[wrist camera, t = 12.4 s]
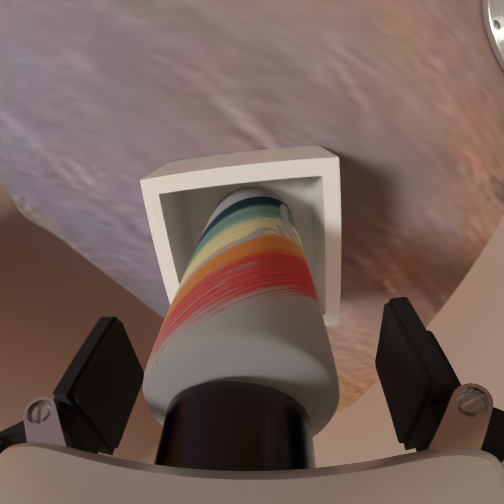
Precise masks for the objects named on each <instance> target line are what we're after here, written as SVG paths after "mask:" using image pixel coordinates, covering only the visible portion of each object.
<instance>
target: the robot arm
mask: <svg viewBox="0 0 504 504" xmlns="http://www.w3.org/2000/svg"><path fill="white" fill-rule="evenodd" d="M483 17H484V22H485V28H486V31H487V34H488V38H489V41H490V44H491V46H492V49H493V51H494V54H495V56H496V58H497V60H498V62H499V64H500V66H501V68H502V69H503V71H504V0H483ZM375 363H376V370H377V373H378V376H379V379H380V382H381V385H382V388H383V391H384V394H385V397H386V401H387V404H388V407H389V411H390V414H391V417H392V421H393V424H394V427H395V431H396V435H397V438H398V441H399V443H404V446H405V450H409V449H413V448H416V451H417V452H415V453H409V454H404V455H398V456H393V457H388V458H383V459H378V460H372V461H366V462H359V463H352V464H345V465H338V466H331V467H322V468H310V469H298V470H280V471H220V470H202V469H189V468H179V467H170V466H162V465H154V464H147V463H141V462H135V461H129V460H124V459H118V458H113V457H108V456H104V455H99V454H98V452H101V453H105V454H110V455H113V452H114V449H115V448H117V447H118V446H119V443H120V441H121V438H122V436H123V433H124V430H125V427H126V424H127V422H128V419H129V417H130V414H131V411H132V409H133V406H134V403H135V401H136V398H137V395H138V392H139V390H140V388H141V385H142V383H143V379H144V372H143V369H142V367H141V365H140V363H139V361H138V358H137V356H136V354H135V352H134V350H133V348H132V345H131V343H130V340H129V338H128V335H127V333H126V331H125V328H124V326H123V324H122V322H121V321H119V320H118V319H117V318H116V317H101V318H100V319H99V321H98V322H97V324H96V325H95V327H94V328H93V330H92V331H91V333H90V334H89V336H88V337H87V339H86V340H85V342H84V343H83V345H82V346H81V348H80V350H79V351H78V353H77V354H76V356H75V357H74V359H73V361H72V362H71V364H70V366H69V367H68V369H67V370H66V372H65V374H64V375H63V377H62V378H61V380H60V382H59V384H58V385H57V387H56V389H55V390H54V392H53V394H54V396H55V398H54V400H52V399H51V398H49V397H39V398H36V399H34V400H33V401H31V402H30V403H29V404H28V405H27V407H26V408H25V411H24V415H23V419H24V421H22V422H20V423H18V424H16V425H14V426H11V427H9V428H7V429H5V430H3V431H1V432H0V504H504V411H502V410H499V409H497V408H494V407H493V399H492V396H491V394H490V393H489V392H488V391H487V390H486V389H485V388H484V387H482V386H480V385H478V384H473V383H470V384H464V385H461V384H460V382H459V380H458V378H457V376H456V374H455V372H454V370H453V368H452V367H451V365H450V363H449V361H448V359H447V357H446V356H445V354H444V352H443V350H442V348H441V347H440V345H439V343H438V341H437V340H436V338H435V336H434V335H433V333H432V332H431V331H427V330H426V328H425V327H424V325H423V323H422V322H421V320H420V318H419V316H418V315H417V313H416V311H415V310H414V308H413V306H412V305H411V303H410V302H409V300H408V298H407V297H400V298H392V299H390V301H389V303H387V304H385V305H384V311H383V318H382V325H381V331H380V337H379V343H378V349H377V355H376V361H375Z"/></svg>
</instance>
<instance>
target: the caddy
mask: <svg viewBox="0 0 504 504" xmlns="http://www.w3.org/2000/svg"><path fill="white" fill-rule="evenodd" d="M140 183H141V188H142V193H143V198H144V202H145V207H146V212H147V216H148V220H149V225H150V229H151V233H152V238H153V242H154V246H155V250H156V254H157V258H158V262H159V265H160V269H161V273H162V277H163V280H164V284H165V288H166V291H167V295H168V298H169V302H170V305H171V303H172V301H173V299H174V296H175V294H176V292H177V289H178V287H179V285H180V282H181V280H182V278H183V276H184V273H185V271H186V269H187V267H188V264H189V262H190V260H191V258H192V256H193V253H194V251H195V249H196V247H197V245H198V242H199V240H200V238H201V236H202V234H203V232H204V229H205V227H206V225H207V223H208V221H209V219H210V217H211V215H212V213H213V211H214V209H215V208H216V206H217V205H218V203H219V202H220V201H221V200H222V199H223V198H224V197H225V196H226V195H228V194H229V193H231V192H233V191H235V190H237V189H240V188H245V187H260V188H264V189H267V190H270V191H272V192H274V193H275V194H277V195H278V196H279V197H281V198H282V199H283V200H284V201H285V203H286V204H287V205H288V207H289V209H290V211H291V213H292V215H293V217H294V220H295V223H296V226H297V230H298V233H299V236H300V239H301V243H302V246H303V249H304V253H305V256H306V259H307V263H308V266H309V270H310V273H311V276H312V280H313V283H314V287H315V290H316V294H317V297H318V301H319V305H320V308H321V312H322V316H323V319H324V323H325V326H331V325H339V319H340V295H341V192H340V168H339V157H338V156H336V155H334V154H333V153H331V152H329V151H328V150H326V149H324V148H322V147H321V146H319V145H312V146H298V147H285V148H274V149H263V150H254V151H244V152H236V153H228V154H220V155H213V156H206V157H199V158H192V159H186V160H179V161H173V162H170V163H168V164H166V165H164V166H163V167H161V168H159V169H158V170H156V171H154V172H153V173H151V174H149V175H148V176H146V177H144V178H143V179H141V180H140Z"/></svg>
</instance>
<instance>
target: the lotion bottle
mask: <svg viewBox="0 0 504 504" xmlns="http://www.w3.org/2000/svg"><path fill="white" fill-rule="evenodd" d="M143 393H144V397H145V400H146V403H147V405H148V407H149V409H150V411H151V412H152V414H153V415H154V417H155V418H156V419H157V420H158V422H159V423H160V424H162V426H163V427H162V431H161V435H160V439H159V443H158V448H157V452H156V456H155V460H154V465H162V466H170V467H179V468H189V469H202V470H220V471H280V470H298V469H310V468H316V464H315V455H314V447H313V438H312V437H313V436H315V435H316V434H318V433H319V432H320V431H321V430H322V429H323V428H324V427H325V426H326V425H327V424H328V423H329V421H330V420H331V418H332V417H333V415H334V414H335V411H336V409H337V406H338V403H339V382H338V376H337V372H336V367H335V363H334V358H333V354H332V350H331V346H330V342H329V338H328V334H327V330H326V327H325V323H324V319H323V316H322V312H321V308H320V305H319V301H318V297H317V294H316V290H315V287H314V283H313V280H312V276H311V273H310V270H309V266H308V263H307V259H306V256H305V253H304V249H303V246H302V243H301V239H300V236H299V233H298V230H297V226H296V223H295V220H294V217H293V215H292V213H291V211H290V209H289V207H288V205H287V204H286V203H285V201H284V200H283V199H282V198H281V197H279V196H278V195H277V194H275V193H274V192H272V191H270V190H267V189H264V188H260V187H245V188H240V189H237V190H235V191H233V192H231V193H229V194H228V195H226V196H225V197H224V198H223V199H222V200H221V201H220V202H219V203H218V205H217V206H216V208H215V209H214V211H213V213H212V215H211V217H210V219H209V221H208V223H207V225H206V227H205V229H204V232H203V234H202V236H201V238H200V240H199V242H198V245H197V247H196V249H195V251H194V253H193V256H192V258H191V260H190V262H189V264H188V267H187V269H186V271H185V273H184V276H183V278H182V280H181V282H180V285H179V287H178V289H177V292H176V294H175V296H174V299H173V301H172V303H171V306H170V308H169V310H168V313H167V315H166V317H165V320H164V322H163V325H162V327H161V329H160V332H159V335H158V337H157V339H156V342H155V344H154V347H153V350H152V353H151V355H150V358H149V361H148V363H147V366H146V370H145V373H144V379H143Z"/></svg>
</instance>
